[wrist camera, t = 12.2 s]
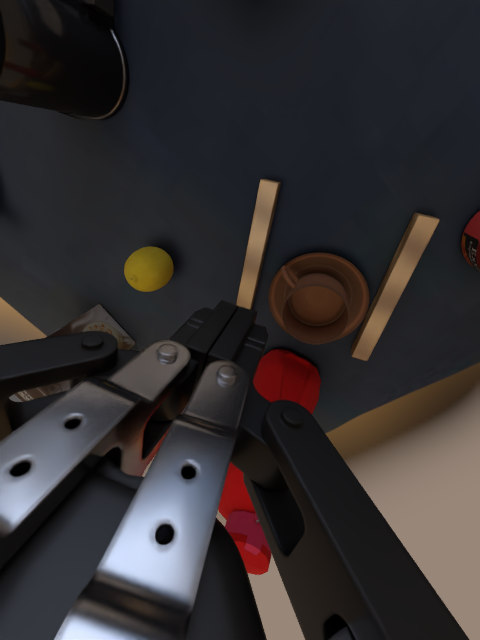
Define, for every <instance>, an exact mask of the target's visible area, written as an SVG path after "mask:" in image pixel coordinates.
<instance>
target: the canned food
mask: <svg viewBox="0 0 480 640" xmlns="http://www.w3.org/2000/svg"><path fill="white" fill-rule="evenodd" d="M461 246H462V253H463V255H464V257H465V259H466V260H467V262H468V263H469V264H470V265H472V266H473V267H474V268H476V269H477V270H478V271H479V272H480V210H479V211H478V212H477V213H476V214H475V215H474V216H473V217H472V219H471V220H470V221H469V222H468V224H467V226H466V228H465V229H464V232H463V235H462V241H461Z"/></svg>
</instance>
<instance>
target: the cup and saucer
mask: <svg viewBox="0 0 480 640" xmlns="http://www.w3.org/2000/svg"><path fill="white" fill-rule="evenodd" d="M269 306H270V310H271V313H272V315H273V317H274V319H275V321H276V322H277V323H278V325H279V326H280V327H281V328H282V329H283V330H284V331H286V332H287V333H288V334H290V335H292V336H293V337H294V338H296V339H297V340H299V341H301V342H304V343H308V344H325V343H328V342H331V341H335V340H338V339H340V338H343V337H345V336H346V335H348V334H350V333H351V332H352V331H354V330H355V329H356V328H357V327H358V326H359V325H360V323H361V322H362V320H363V319H364V317H365V315H366V313H367V310H368V306H369V290H368V286H367V283H366V281H365V279H364V277H363V275H362V274H361V272H360V271H359V270H358V269H357V268H356V267H355V266H354V265H353V264H352V263H350V262H349V261H347V260H345V259H344V258H342V257H339V256H336V255H333V254H329V253H309V254H305V255H301V256H299V257H296V258H294V259H292V260H291V261H289V262H288V263H286V264H285V265H284V266H283V267H282V268H281V269H280V270H279V271H278V272H277V274H276V275H275V277H274V278H273V280H272V283H271V285H270V289H269Z"/></svg>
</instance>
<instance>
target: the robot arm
mask: <svg viewBox="0 0 480 640" xmlns="http://www.w3.org/2000/svg"><path fill="white" fill-rule="evenodd" d="M113 17H114V4H113V0H0V100H1V101H7V102H12V103H17V104H22V105H27V106H33V107H38V108H43V109H48V110H54V111H58V112H60V113H63V114H66V115H68V116H71V117H74V118H76V119H82V118H79V117H77V116H74V115H71V114H75V115H79V116H83V117H87V118H91V119H97V120H103V119H107V118H109V117H111V116H113V115H114V114H115V113H116V112H117V111H118V110H119V109H120V107H121V106H122V104H123V102H124V99H125V97H126V93H127V88H128V66H127V60H126V56H125V52H124V49H123V47H122V44H121V42H120V40H119V38H118V36H117V34H116V33H115V29H114V18H113ZM82 120H85V119H82ZM256 316H257V312H256V311H253V310H250V309H247V308H244V307H241V306H240V307H239V306H238V305H235V304H232V303H229V302H226V301H223V300H222V301H221V302H220V303H219V304H218V305H217V306H216V308H215V309H214V310H212V309H209V308H203V309H201V310H198V311H196V312H195V313H194V314H193V315H192V316H191V317H190V319H188V320H187V321H186V322H185V324H183V325H182V326H181V327H180V329H179V330H178V331H177V332H176V333H175V334H174V335H173V336H172V337H171V338H170V339H169V340H162V341H156V342H153V343H151V344H150V345H148V346H147V347H146V348H145V349H143V350H142V351H133V350H124V349H118V341H117V339H116V338H115V337H114V336H113V335H111V334H110V333H107V332H103V331H85V332H79V333H73V334H67V335H61V336H54V337H48V338H42V339H36V340H30V341H24V342H18V343H12V344H5V345H0V640H267V639H266V635H265V632H264V629H263V625H262V622H261V618H260V615H259V611H258V608H257V605H256V601H255V598H254V594H253V591H252V587H251V584H250V580H249V577H248V574H247V570H246V567H245V564H244V561H243V559H242V557H241V554H240V552H239V550H238V547H237V546H236V544H235V542H234V540H233V538H232V537H231V535H230V534H229V532H228V531H227V530H226V528H225V527H224V526H223V525H222V523H221V522H220V521H219V520H218V519H217V518H216V515H217V511H218V507H219V503H220V499H221V495H222V492H223V488H224V484H225V480H226V476H227V472H228V468H229V464H230V462H231V463H232V464H233V465H234V466H236V467H237V468H238V469H239V470H240V471H242V472H243V480H244V484H245V486H246V489H247V491H248V494H249V497H250V499H251V502H252V504H253V507H254V509H255V512H256V514H257V517H258V520H259V522H260V525H261V527H262V530H263V532H264V535H265V537H266V540H267V543H268V545H269V548H270V550H271V553H272V555H273V558H274V561H275V563H276V566H277V568H278V571H279V573H280V576H281V578H282V581H283V583H284V586H285V588H286V591H287V594H288V596H289V598H290V601H291V604H292V607H293V609H294V612H295V614H296V617H297V619H298V622H299V624H300V627H301V629H302V632H303V635H304V637H305V640H469V639H468V637H467V636H466V634H465V633H464V631H463V630H462V628H461V627H460V626H459V624H458V623H457V621H456V620H455V618H454V617H453V616H452V614H451V613H450V611H449V610H448V608H447V607H446V606H445V604H444V603H443V601H442V600H441V598H440V597H439V596H438V595H437V593H436V591H435V590H434V588H433V587H432V586H431V584H430V583H429V582H428V580H427V579H426V577H425V576H424V574H423V573H422V571H421V570H420V569H419V567H418V566H417V564H416V563H415V562H414V560H413V558H412V557H411V556H410V554H409V553H408V552H407V550H406V548H405V547H404V546H403V544H402V543H401V541H400V540H399V539H398V537H397V536H396V534H395V533H394V531H393V530H392V529H391V527H390V526H389V524H388V523H387V521H386V520H385V518H384V517H383V516H382V514H381V513H380V511H379V510H378V508H377V507H376V506H375V505H374V503H373V501H372V500H371V498H370V497H369V496H368V494H367V493H366V491H365V490H364V488H363V487H362V486H361V484H360V483H359V482H358V480H357V479H356V477H355V476H354V474H353V473H352V471H351V470H350V468H349V467H348V466H347V464H346V463H345V461H344V460H343V458H342V457H341V456H340V454H339V453H338V451H337V450H336V448H335V447H334V446H333V444H332V443H331V441H330V440H329V439H328V437H327V436H326V434H325V433H324V431H323V430H322V428H321V427H320V426H319V424H318V423H317V421H316V420H315V419H314V417H313V416H312V414H311V413H310V412H309V411H308V410H307V409H306V408H305V407H303V406H302V405H300V404H298V403H296V402H294V401H290V400H277V401H274V402H272V403H271V402H270V401H268V400H267V399H265V398H264V397H263V396H261V395H260V394H259V392H258V391H257V390H256V388H255V387H254V384H253V379H254V377H255V374H256V371H257V369H258V366H259V363H260V360H261V357H262V354H263V350H264V347H265V344H266V341H267V338H268V334H267V330H266V327H263V326H260V325H257V324H254V323H255V320H256ZM67 380H69V385H70V390H67V391H63V392H59V393H55V394H52V395H48V396H44V397H40V398H36V399H32V400H29V401H25V402H14V401H12V400H10V399H9V397H10V396H11V395H13V394H15V393H18V392H22V391H26V390H30V389H34V388H38V387H42V386H46V385H50V384H54V383H59V382H63V381H67ZM186 405H187V406H186ZM185 407H186V408H185ZM184 408H185V410H184ZM183 410H184V412H183V414H182V415H181V413H182V411H183ZM155 454H156V455H155ZM154 456H155V457H154ZM153 457H154V459H153ZM152 459H153V461H152V463H151V465H150V467H149V469H148V471H147V473H146V475H145V477H142V475H143V473H144V470H145V469H146V467H147V466H148V464H149V463H150V461H151V460H152Z"/></svg>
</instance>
